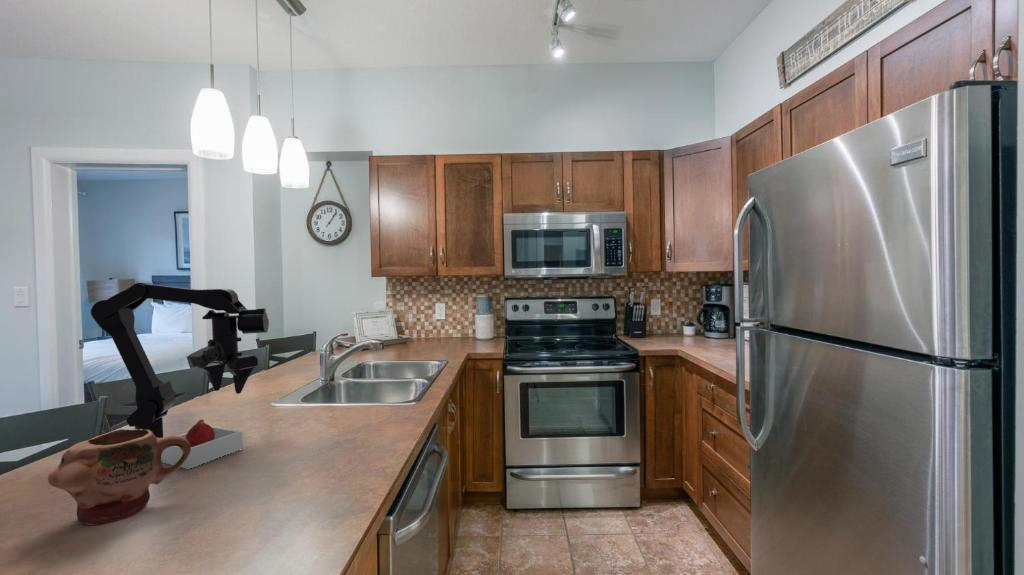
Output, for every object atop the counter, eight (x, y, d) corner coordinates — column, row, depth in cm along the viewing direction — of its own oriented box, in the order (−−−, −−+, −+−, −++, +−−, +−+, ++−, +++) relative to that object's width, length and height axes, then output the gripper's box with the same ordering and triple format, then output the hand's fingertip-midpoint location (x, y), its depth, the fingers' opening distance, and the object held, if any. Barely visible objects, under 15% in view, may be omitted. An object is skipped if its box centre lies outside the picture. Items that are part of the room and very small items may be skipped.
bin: (156, 461, 105) (155, 442, 105) (211, 442, 117) (210, 425, 117) (188, 469, 100) (187, 449, 100) (243, 449, 112) (242, 431, 111)
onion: (200, 458, 105) (199, 424, 105) (179, 456, 106) (178, 422, 106) (220, 448, 111) (220, 416, 111) (200, 447, 112) (200, 415, 112)
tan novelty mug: (188, 480, 95) (185, 415, 94) (197, 500, 86) (193, 428, 85) (53, 516, 81) (49, 441, 81) (47, 545, 72) (42, 460, 72)
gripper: (171, 337, 118) (174, 396, 118) (216, 340, 110) (219, 403, 110) (215, 332, 128) (217, 386, 128) (258, 334, 120) (261, 392, 120)
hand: (227, 392), depth 122 cm, fingers open, 9 cm apart
